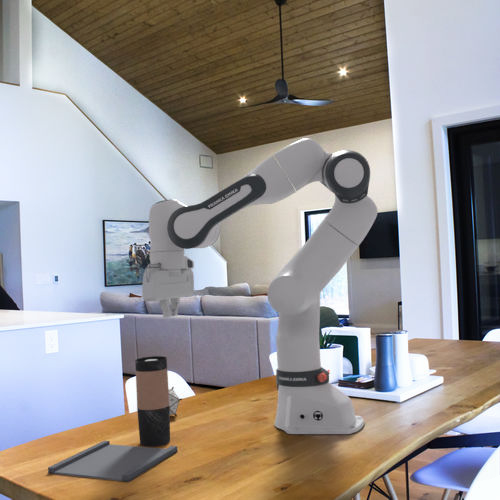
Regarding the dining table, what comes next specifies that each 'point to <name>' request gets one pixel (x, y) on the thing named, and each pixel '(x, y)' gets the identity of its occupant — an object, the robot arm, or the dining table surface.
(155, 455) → the tray
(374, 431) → the dining table surface
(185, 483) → the dining table surface
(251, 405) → the dining table surface
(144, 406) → the travel mug
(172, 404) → the game die
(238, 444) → the dining table surface
